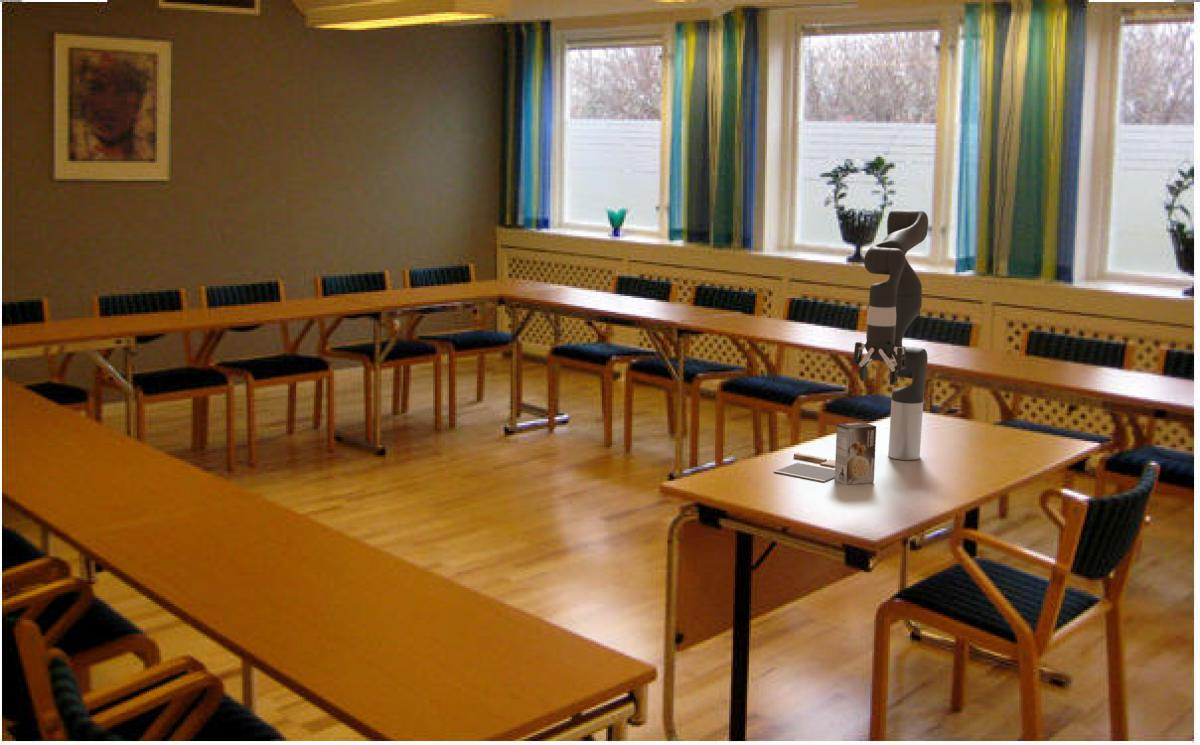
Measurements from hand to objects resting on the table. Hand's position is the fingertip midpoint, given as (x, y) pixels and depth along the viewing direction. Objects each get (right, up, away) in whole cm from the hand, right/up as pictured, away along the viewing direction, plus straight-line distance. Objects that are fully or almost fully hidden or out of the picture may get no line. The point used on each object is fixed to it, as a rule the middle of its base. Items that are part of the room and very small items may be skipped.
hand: (878, 382), depth 363 cm
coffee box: (-4, -28, +12) cm, 31 cm away
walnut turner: (-10, -24, +33) cm, 42 cm away
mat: (-15, -26, +20) cm, 36 cm away
